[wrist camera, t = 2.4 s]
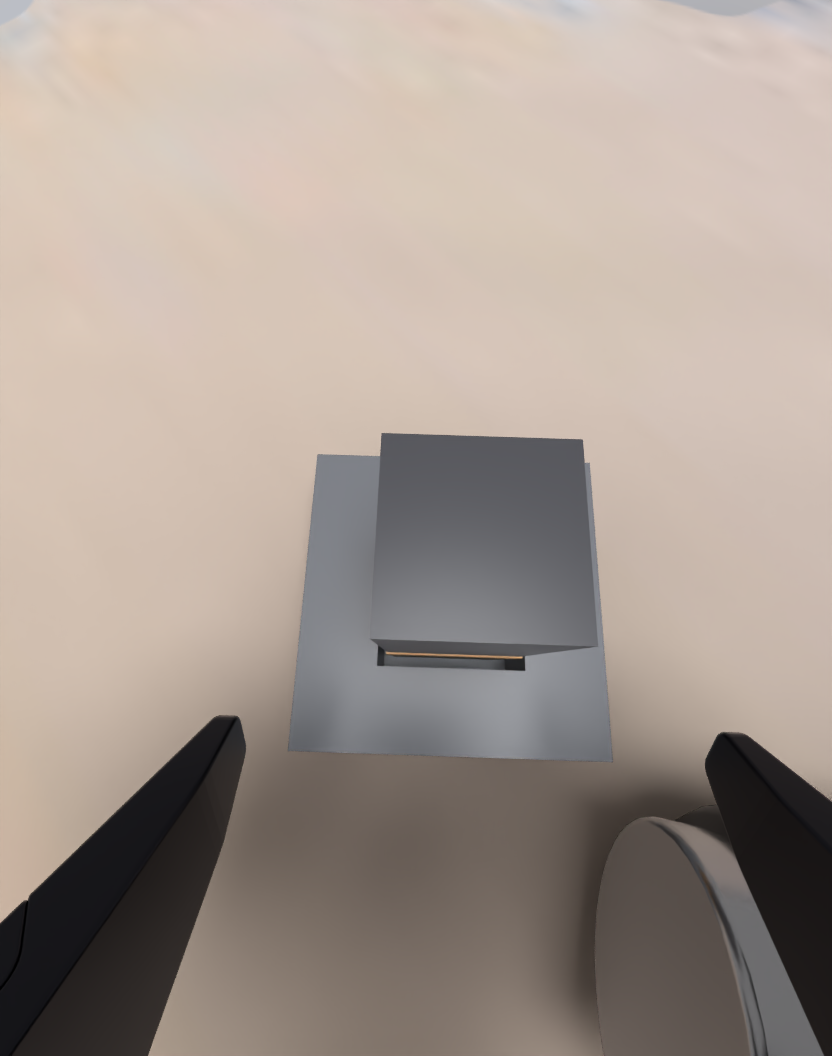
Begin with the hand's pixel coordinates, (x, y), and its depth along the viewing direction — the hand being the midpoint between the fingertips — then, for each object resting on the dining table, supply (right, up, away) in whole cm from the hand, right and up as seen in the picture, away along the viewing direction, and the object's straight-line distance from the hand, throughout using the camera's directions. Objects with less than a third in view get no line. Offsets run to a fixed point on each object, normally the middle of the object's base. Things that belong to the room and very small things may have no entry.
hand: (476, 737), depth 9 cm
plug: (0, +1, +10) cm, 10 cm away
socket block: (0, 0, +11) cm, 11 cm away
